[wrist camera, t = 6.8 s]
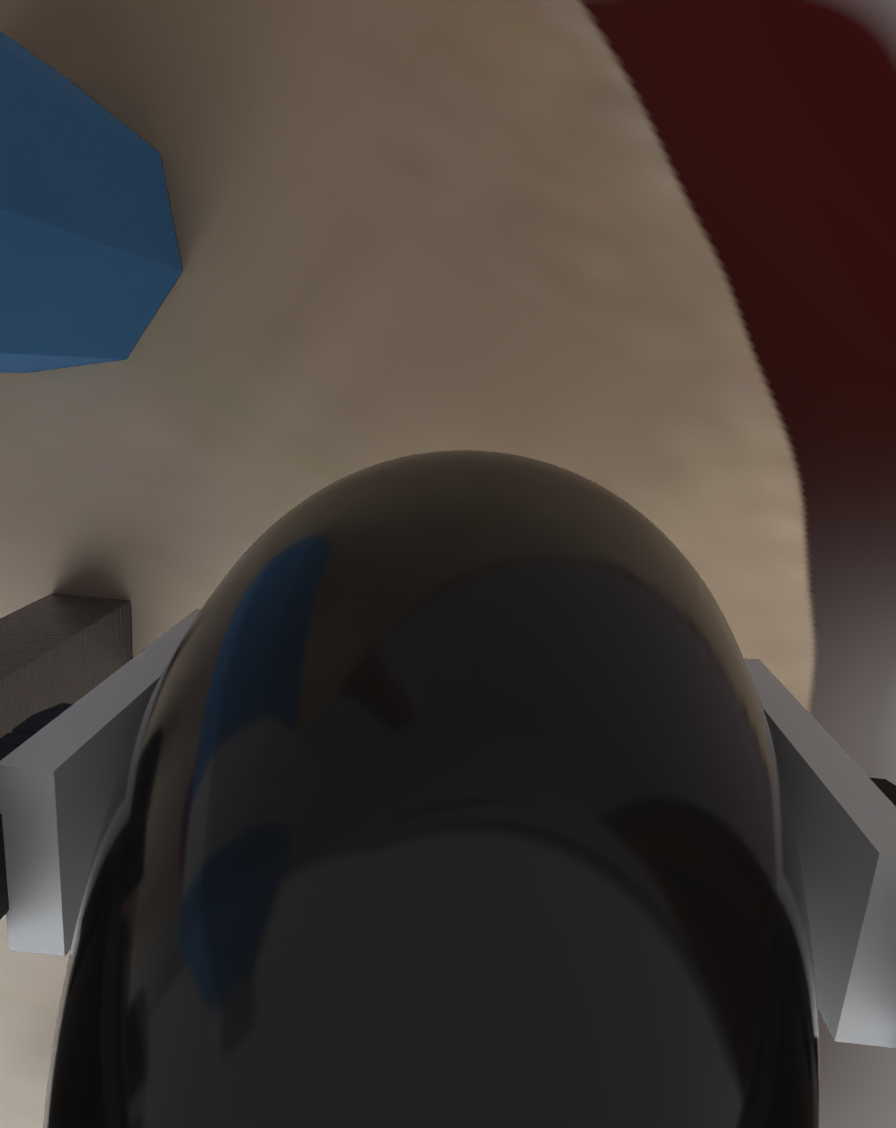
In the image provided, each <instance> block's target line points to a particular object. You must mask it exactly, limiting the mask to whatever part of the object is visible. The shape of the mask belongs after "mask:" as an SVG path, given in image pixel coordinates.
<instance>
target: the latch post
mask: <svg viewBox="0 0 896 1128" xmlns="http://www.w3.org/2000/svg"><path fill="white" fill-rule="evenodd" d="M131 659H132V632H131V601H127V600H115V599H104V598H92V597H81V596H70V595H58V594H50V595H48V596H46V597H44V598H42V599H40V600H37V601H35V602H33V603H31V604H29V605H27V606H25V607H23V608H21V609H19V610H17V611H15V612H13V613H11V614H9V615H7V616H5V617H3V618H1V619H0V738H1V737H3V736H4V735H5V734H7V733H11V732H12V729H14V728H15V727H16V726H18V725H19V724H20V723H22V722H23V721H25V720H26V719H27V718H29V717H30V716H31V715H33V714H36V713H38V712H41V711H43V710H46V709H48V708H51V707H53V706H56V705H58V704H61V703H68V704H74V703H76V702H77V701H78V700H80V699H81V698H82V697H83V696H85V695H86V694H87V693H89V692H90V691H91V690H92V689H94V688H95V687H96V686H98V685H99V684H100V683H102V682H103V681H104V680H105V679H107V678H108V677H109V676H111V675H112V674H113V673H114V672H116V671H117V670H118V669H120V668H121V667H122V666H124V665H125V664H126V663H127V662H129V661H130V660H131Z"/></svg>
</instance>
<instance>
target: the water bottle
mask: <svg viewBox="0 0 896 1128" xmlns="http://www.w3.org/2000/svg"><path fill="white" fill-rule="evenodd" d="M182 271H183V270H182V265H181V260H180V255H179V250H178V244H177V239H176V234H175V229H174V224H173V218H172V213H171V208H170V203H169V198H168V192H167V187H166V182H165V177H164V172H163V166H162V161H161V156H160V153H159V152H158V151H157V150H156V149H154V148H153V147H152V146H151V145H149V144H148V143H147V142H146V141H144V140H143V139H142V138H141V137H139V136H138V135H137V134H136V133H134V132H133V131H132V130H131V129H129V128H128V127H127V126H126V125H124V124H123V123H122V122H121V121H119V120H118V119H117V118H116V117H114V116H113V115H112V114H111V113H110V112H108V111H107V110H106V109H105V108H103V107H102V106H101V105H100V104H98V103H97V102H96V101H95V100H93V99H92V98H91V97H90V96H88V95H87V94H86V93H85V92H83V91H82V90H81V89H80V88H78V87H77V86H76V85H75V84H73V83H72V82H71V81H70V80H68V79H67V78H66V77H65V76H63V75H62V74H60V73H59V72H57V71H56V70H55V69H53V68H52V67H50V66H49V65H47V64H46V63H45V62H43V61H42V60H40V59H39V58H38V57H36V56H35V55H33V54H32V53H30V52H29V51H28V50H26V49H25V48H23V47H22V46H20V45H19V44H18V43H16V42H15V41H13V40H12V39H11V38H9V37H8V36H6V35H5V34H3V33H2V32H1V31H0V372H17V373H28V372H35V371H43V370H50V369H58V368H65V367H73V366H80V365H88V364H95V363H103V362H110V361H117V360H125V359H127V357H128V356H129V354H130V353H131V351H132V350H133V348H134V346H135V345H136V343H137V342H138V340H139V339H140V337H141V335H142V334H143V332H144V331H145V329H146V328H147V326H148V324H149V323H150V321H151V320H152V318H153V317H154V315H155V313H156V312H157V310H158V309H159V307H160V306H161V304H162V302H163V301H164V299H165V298H166V296H167V295H168V293H169V291H170V290H171V288H172V287H173V285H174V284H175V282H176V280H177V279H178V277H179V276H180V274H181V273H182Z"/></svg>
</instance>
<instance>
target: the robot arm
mask: <svg viewBox="0 0 896 1128" xmlns="http://www.w3.org/2000/svg"><path fill="white" fill-rule="evenodd" d="M200 611H201V610H199V609H196V610H195V611H193V612H192V613H191V614H189V615H188V616H187V617H186V618H184V619H183V620H182V621H180V622H179V623H178V624H177V625H175V626H174V627H173V628H171V629H170V630H169V631H168V632H166V633H165V634H164V635H162V636H161V637H160V638H158V639H157V640H156V641H155V642H153V643H152V644H151V645H149V646H148V647H147V648H146V649H144V650H143V651H142V652H140V653H139V654H138V655H136V656H135V657H134V658H133V659H131V660H130V661H129V662H127V663H126V664H125V665H124V666H122V667H121V668H120V669H118V670H117V671H116V672H114V673H113V674H112V675H111V676H109V677H108V678H107V679H105V680H104V681H103V682H102V683H100V684H99V685H98V686H96V687H95V688H94V689H92V690H91V691H90V692H89V693H87V694H86V695H85V696H83V697H82V698H81V699H80V700H78V701H77V702H76V703H74V704H68V703H61V704H58V705H56V706H53V707H51V708H48V709H46V710H43V711H41V712H38V713H36V714H33V715H31V716H30V717H29V718H27V719H26V720H25V721H23V722H22V723H20V724H19V725H18V726H16V727H15V728H14V729H12V732H11V733H7V734H5V735H4V736H3V737H1V738H0V919H1V918H2V917H3V916H4V915H5V914H6V916H7V928H8V941H9V950H11V951H20V952H29V953H38V954H47V955H56V956H65V955H66V954H67V953H68V951H69V950H70V949H71V945H72V940H73V936H74V931H75V927H76V922H77V918H78V914H79V910H80V906H81V902H82V898H83V894H84V890H85V886H86V882H87V878H88V874H89V870H90V867H91V863H92V859H93V855H94V852H95V848H96V845H97V841H98V838H99V834H100V831H101V827H102V824H103V821H104V818H105V814H106V811H107V808H108V805H109V802H110V799H111V796H112V793H113V790H114V786H115V784H116V781H117V778H118V775H119V772H120V769H121V767H122V764H123V761H124V759H125V756H126V753H127V751H128V748H129V746H130V743H131V741H132V738H133V736H134V733H135V731H136V728H137V726H138V724H139V721H140V719H141V717H142V715H143V712H144V710H145V708H146V706H147V703H148V701H149V699H150V697H151V695H152V693H153V691H154V689H155V687H156V685H157V683H158V681H159V679H160V677H161V675H162V673H163V671H164V669H165V668H166V666H167V664H168V662H169V660H170V658H171V657H172V655H173V653H174V652H175V650H176V648H177V647H178V645H179V643H180V642H181V640H182V638H183V637H184V635H185V633H186V632H187V630H188V629H189V627H190V626H191V624H192V622H193V621H194V620H195V618H196V617H197V615H198V614H199V612H200ZM744 661H745V663H746V666H747V668H748V670H749V673H750V675H751V678H752V680H753V683H754V685H755V688H756V691H757V693H758V696H759V699H760V702H761V704H762V707H763V710H764V713H765V716H766V719H767V722H768V725H769V728H770V731H771V734H772V738H773V741H774V744H775V748H776V751H777V755H778V758H779V762H780V766H781V770H782V774H783V778H784V782H785V786H786V791H787V795H788V799H789V804H790V809H791V814H792V819H793V824H794V829H795V835H796V840H797V846H798V851H799V857H800V863H801V869H802V876H803V882H804V889H805V896H806V903H807V910H808V918H809V926H810V935H811V943H812V952H813V961H814V971H815V982H816V995H817V1007H818V1009H819V1011H820V1013H821V1015H822V1017H823V1019H824V1021H825V1023H826V1025H827V1027H828V1029H829V1031H830V1033H831V1035H832V1037H833V1039H834V1041H837V1042H847V1043H856V1044H864V1045H873V1046H883V1047H891V1048H896V786H895V785H894V784H892V783H890V782H889V781H887V780H886V779H878V778H869V777H868V776H867V775H866V774H865V773H864V772H863V771H862V770H861V769H860V768H859V767H858V765H857V764H856V763H855V762H854V761H853V760H852V759H851V758H850V757H849V756H848V755H847V754H846V752H845V751H844V750H843V749H842V748H841V747H840V746H839V745H838V744H837V743H836V742H835V741H834V740H833V738H832V737H831V736H830V735H829V734H828V733H827V732H826V731H825V730H824V729H823V728H822V727H821V725H820V724H819V723H818V722H817V721H816V720H815V719H814V718H813V717H812V716H811V715H810V714H809V713H808V711H807V710H806V709H805V708H804V707H803V706H802V705H801V704H800V703H799V702H798V701H797V700H796V699H795V697H794V696H793V695H792V694H791V693H790V692H789V691H788V690H787V689H786V688H785V687H784V686H783V685H782V683H781V682H780V681H779V680H778V679H777V678H776V677H775V676H774V675H773V674H772V673H771V672H770V671H769V669H768V668H767V667H766V666H765V665H764V664H763V663H762V662H761V661H760V660H758V659H747V658H744Z"/></svg>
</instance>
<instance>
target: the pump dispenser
mask: <svg viewBox="0 0 896 1128" xmlns="http://www.w3.org/2000/svg"><path fill="white" fill-rule="evenodd" d="M818 1032H819V1031H818V1012H817V995H816V982H815V971H814V961H813V952H812V943H811V935H810V926H809V918H808V910H807V903H806V896H805V889H804V882H803V876H802V869H801V863H800V857H799V851H798V846H797V840H796V835H795V829H794V824H793V819H792V814H791V809H790V804H789V799H788V795H787V791H786V786H785V782H784V778H783V774H782V770H781V766H780V762H779V758H778V755H777V751H776V748H775V744H774V741H773V738H772V734H771V731H770V728H769V725H768V722H767V719H766V716H765V713H764V710H763V707H762V704H761V702H760V699H759V696H758V693H757V691H756V688H755V685H754V683H753V680H752V678H751V675H750V673H749V670H748V668H747V666H746V663H745V661H744V658H743V656H742V654H741V651H740V649H739V647H738V644H737V642H736V640H735V638H734V635H733V633H732V631H731V629H730V627H729V625H728V623H727V621H726V619H725V617H724V615H723V613H722V611H721V609H720V608H719V606H718V604H717V602H716V600H715V599H714V597H713V595H712V594H711V592H710V591H709V589H708V587H707V586H706V584H705V583H704V581H703V580H702V579H701V577H700V576H699V574H698V573H697V572H696V570H695V569H694V567H693V566H692V565H691V564H690V562H689V561H688V560H687V559H686V557H685V556H684V555H683V554H682V553H681V552H680V550H679V549H678V548H677V547H676V546H675V545H674V544H673V542H672V541H671V540H670V539H669V538H668V537H667V536H666V535H665V534H664V533H663V532H662V531H661V530H660V529H659V528H658V527H656V526H655V525H654V524H653V523H652V522H651V521H650V520H649V519H648V518H646V517H645V516H644V515H643V514H642V513H640V512H639V511H638V510H637V509H635V508H634V507H633V506H631V505H630V504H629V503H627V502H626V501H624V500H623V499H622V498H620V497H619V496H617V495H616V494H614V493H612V492H611V491H609V490H607V489H606V488H604V487H602V486H600V485H599V484H597V483H595V482H593V481H591V480H589V479H587V478H585V477H583V476H581V475H578V474H576V473H574V472H571V471H569V470H566V469H564V468H561V467H558V466H555V465H553V464H549V463H546V462H543V461H539V460H535V459H531V458H527V457H523V456H518V455H513V454H506V453H499V452H489V451H473V450H454V451H438V452H428V453H422V454H415V455H410V456H405V457H400V458H397V459H393V460H389V461H385V462H382V463H379V464H376V465H373V466H370V467H367V468H365V469H362V470H360V471H357V472H355V473H353V474H350V475H348V476H346V477H344V478H342V479H340V480H338V481H336V482H334V483H332V484H330V485H328V486H326V487H325V488H323V489H321V490H319V491H318V492H316V493H315V494H313V495H311V496H310V497H308V498H307V499H305V500H304V501H302V502H301V503H300V504H298V505H297V506H295V507H294V508H293V509H291V510H290V511H289V512H287V513H286V514H285V515H284V516H282V517H281V518H280V519H279V520H278V521H277V522H275V523H274V524H273V525H272V526H271V527H270V528H268V529H267V530H266V531H265V532H264V533H263V534H262V535H261V536H260V537H259V538H258V539H257V540H256V541H255V542H254V543H253V544H252V545H251V546H250V547H249V548H248V550H247V551H246V552H245V553H244V554H243V555H242V556H241V557H240V559H239V560H238V561H237V562H236V563H235V565H234V566H233V567H232V568H231V569H230V571H229V572H228V573H227V575H226V576H225V577H224V579H223V580H222V581H221V583H220V584H219V585H218V587H217V588H216V589H215V591H214V592H213V593H212V595H211V596H210V598H209V599H208V600H207V602H206V603H205V605H204V606H203V608H202V609H201V611H200V612H199V614H198V615H197V617H196V618H195V620H194V621H193V622H192V624H191V626H190V627H189V629H188V630H187V632H186V633H185V635H184V637H183V638H182V640H181V642H180V643H179V645H178V647H177V648H176V650H175V652H174V653H173V655H172V657H171V658H170V660H169V662H168V664H167V666H166V668H165V669H164V671H163V673H162V675H161V677H160V679H159V681H158V683H157V685H156V687H155V689H154V691H153V693H152V695H151V697H150V699H149V701H148V703H147V706H146V708H145V710H144V712H143V715H142V717H141V719H140V721H139V724H138V726H137V728H136V731H135V733H134V736H133V738H132V741H131V743H130V746H129V748H128V751H127V753H126V756H125V759H124V761H123V764H122V767H121V769H120V772H119V775H118V778H117V781H116V784H115V786H114V790H113V793H112V796H111V799H110V802H109V805H108V808H107V811H106V814H105V818H104V821H103V824H102V827H101V831H100V834H99V838H98V841H97V845H96V848H95V852H94V855H93V859H92V863H91V867H90V870H89V874H88V878H87V882H86V886H85V890H84V894H83V898H82V902H81V906H80V910H79V914H78V918H77V922H76V927H75V931H74V936H73V940H72V945H71V950H70V955H69V960H68V965H67V970H66V975H65V980H64V985H63V990H62V996H61V1001H60V1006H59V1012H58V1018H57V1024H56V1030H55V1036H54V1042H53V1049H52V1056H51V1062H50V1069H49V1077H48V1084H47V1093H46V1102H45V1112H44V1123H43V1128H819V1110H820V1109H819V1108H820V1102H819V1101H820V1072H819V1071H820V1069H819V1033H818Z"/></svg>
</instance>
